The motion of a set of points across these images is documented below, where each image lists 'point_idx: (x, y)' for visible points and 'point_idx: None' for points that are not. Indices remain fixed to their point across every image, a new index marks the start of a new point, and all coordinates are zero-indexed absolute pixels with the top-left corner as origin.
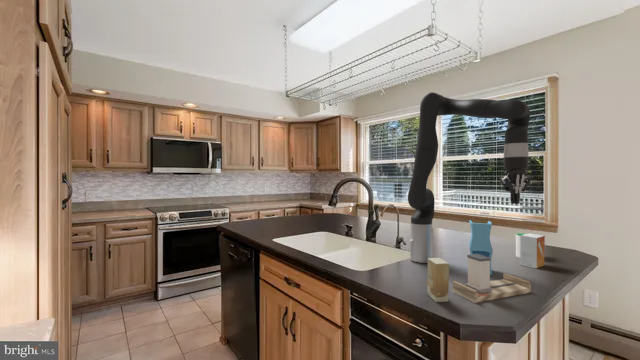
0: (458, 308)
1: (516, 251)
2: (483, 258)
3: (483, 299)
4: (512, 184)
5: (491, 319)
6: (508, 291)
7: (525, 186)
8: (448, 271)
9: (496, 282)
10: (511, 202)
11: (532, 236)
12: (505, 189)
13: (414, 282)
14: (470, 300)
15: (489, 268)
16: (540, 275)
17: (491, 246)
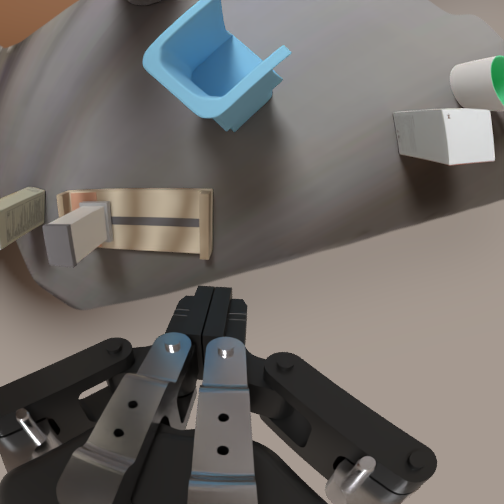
0: None
1: (460, 67)
2: (57, 264)
3: None
4: (198, 405)
5: (68, 289)
6: (147, 248)
7: (303, 441)
8: (9, 243)
9: (165, 201)
10: (198, 289)
11: (457, 144)
12: (90, 348)
13: (37, 126)
14: None
15: (85, 255)
16: (354, 188)
17: (224, 125)
